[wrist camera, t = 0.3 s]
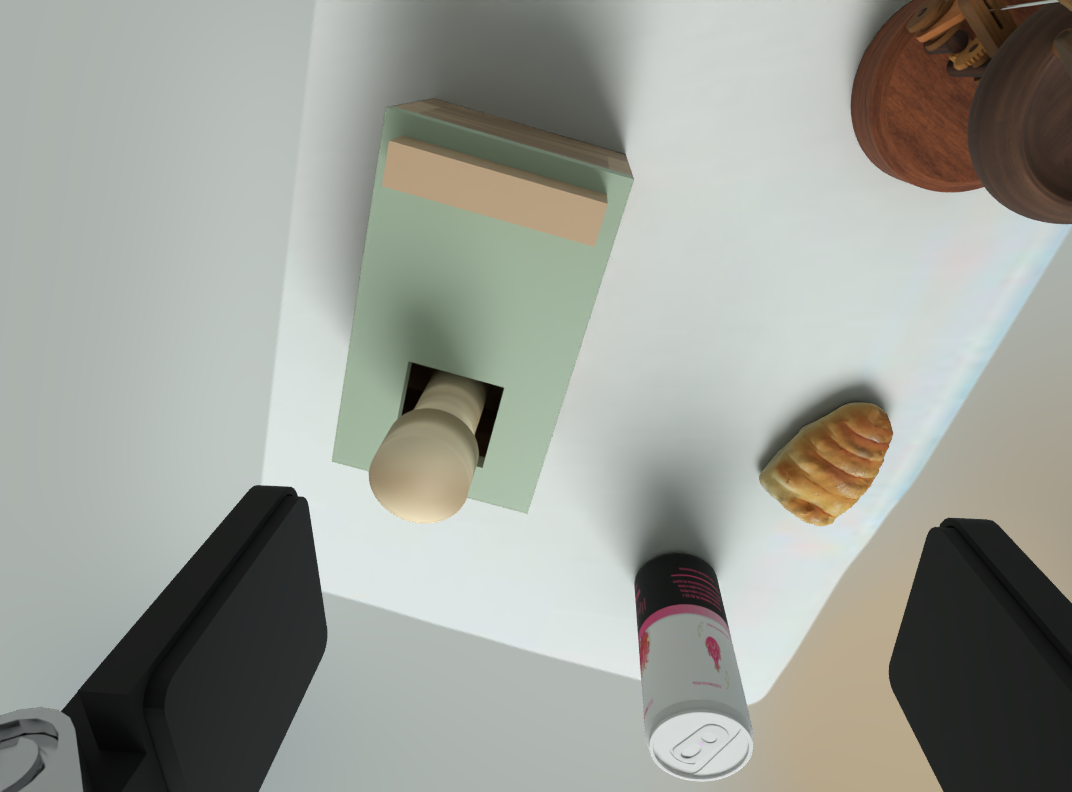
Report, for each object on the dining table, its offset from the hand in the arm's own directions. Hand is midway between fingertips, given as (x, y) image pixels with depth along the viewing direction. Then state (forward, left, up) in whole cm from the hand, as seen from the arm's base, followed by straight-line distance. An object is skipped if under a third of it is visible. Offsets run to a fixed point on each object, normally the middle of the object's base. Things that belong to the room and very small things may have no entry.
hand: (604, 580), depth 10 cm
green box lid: (+7, -5, -27) cm, 28 cm away
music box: (-11, +18, -36) cm, 41 cm away
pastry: (+13, +21, -36) cm, 44 cm away
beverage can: (+27, +15, -36) cm, 47 cm away
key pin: (+12, -5, -35) cm, 37 cm away
